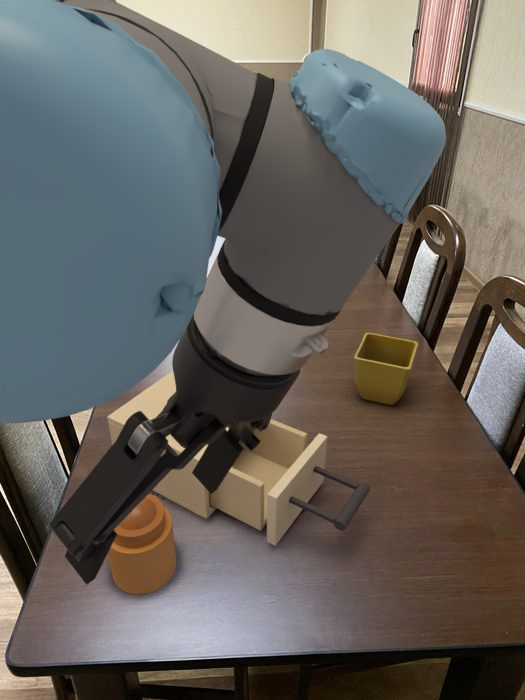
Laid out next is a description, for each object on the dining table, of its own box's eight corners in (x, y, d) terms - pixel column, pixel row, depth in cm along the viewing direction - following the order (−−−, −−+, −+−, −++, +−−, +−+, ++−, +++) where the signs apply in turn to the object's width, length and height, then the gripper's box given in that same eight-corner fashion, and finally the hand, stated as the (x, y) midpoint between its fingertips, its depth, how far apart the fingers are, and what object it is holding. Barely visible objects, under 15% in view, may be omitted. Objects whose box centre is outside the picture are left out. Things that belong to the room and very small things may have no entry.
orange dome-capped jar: (146, 606, 57) (135, 543, 52) (98, 574, 60) (83, 512, 55) (189, 558, 62) (183, 496, 57) (143, 531, 65) (133, 470, 60)
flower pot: (402, 416, 85) (410, 368, 80) (348, 403, 88) (353, 357, 83) (410, 386, 92) (418, 341, 87) (360, 376, 95) (365, 331, 90)
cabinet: (264, 456, 77) (265, 402, 72) (206, 519, 67) (202, 462, 62) (180, 419, 84) (175, 368, 79) (116, 471, 74) (106, 416, 69)
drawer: (374, 503, 68) (381, 457, 64) (330, 575, 59) (336, 527, 55) (234, 442, 78) (233, 398, 74) (179, 495, 69) (174, 449, 65)
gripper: (125, 476, 22) (39, 665, 34) (384, 325, 41) (268, 482, 53) (22, 355, 24) (-24, 573, 36) (312, 265, 43) (217, 429, 55)
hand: (149, 519), depth 45 cm, fingers open, 13 cm apart
